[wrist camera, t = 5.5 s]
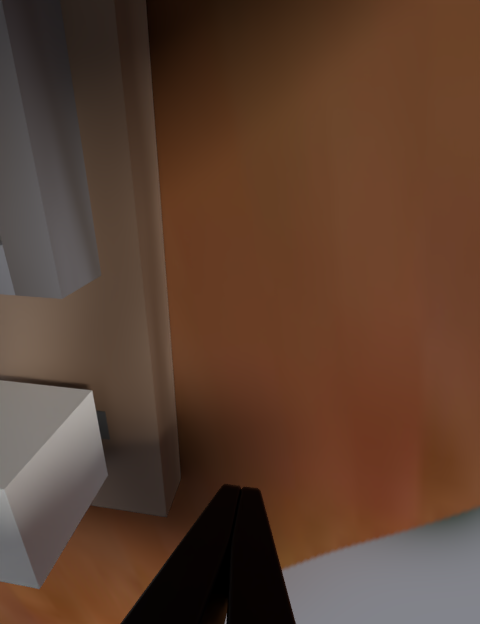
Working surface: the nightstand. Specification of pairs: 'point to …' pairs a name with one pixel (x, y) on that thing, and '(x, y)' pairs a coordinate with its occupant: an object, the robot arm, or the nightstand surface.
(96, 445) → the slider knob
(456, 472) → the nightstand surface
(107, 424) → the control panel
